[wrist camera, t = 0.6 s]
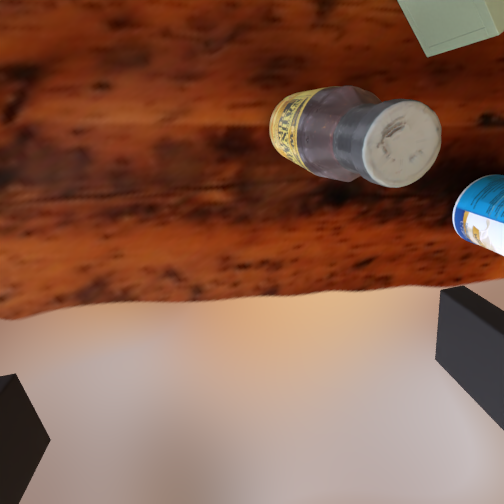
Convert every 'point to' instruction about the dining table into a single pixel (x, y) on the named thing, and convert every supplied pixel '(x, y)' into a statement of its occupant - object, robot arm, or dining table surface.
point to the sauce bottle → (356, 135)
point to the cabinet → (453, 22)
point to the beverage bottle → (482, 213)
